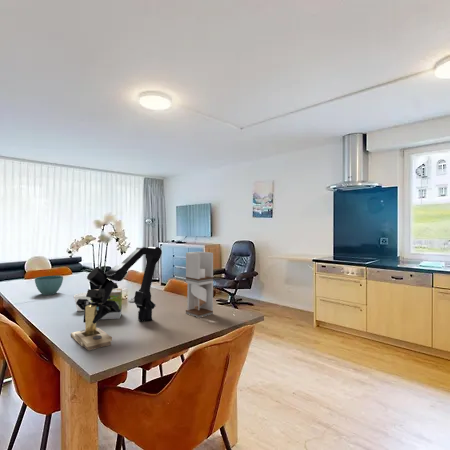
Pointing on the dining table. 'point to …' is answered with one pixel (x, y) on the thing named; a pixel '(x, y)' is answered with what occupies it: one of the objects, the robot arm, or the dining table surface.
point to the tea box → (117, 297)
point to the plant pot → (48, 284)
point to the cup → (81, 296)
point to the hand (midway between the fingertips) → (88, 322)
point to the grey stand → (199, 283)
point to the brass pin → (90, 320)
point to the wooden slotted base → (92, 339)
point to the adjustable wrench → (133, 301)
